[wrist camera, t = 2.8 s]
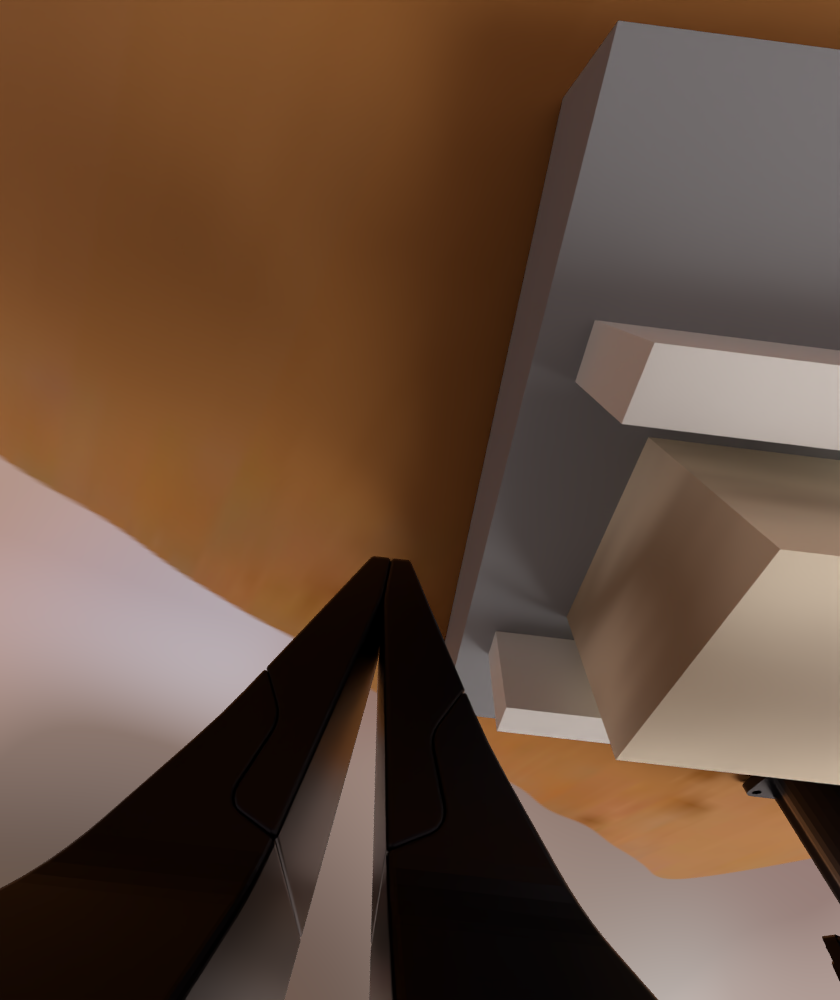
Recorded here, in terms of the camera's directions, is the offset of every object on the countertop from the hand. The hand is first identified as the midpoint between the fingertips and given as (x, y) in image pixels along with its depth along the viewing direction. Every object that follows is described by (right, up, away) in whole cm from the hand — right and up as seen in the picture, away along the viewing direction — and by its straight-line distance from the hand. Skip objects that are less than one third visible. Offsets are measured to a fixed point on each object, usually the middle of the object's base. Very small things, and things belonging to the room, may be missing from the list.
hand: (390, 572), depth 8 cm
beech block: (+8, 0, +2) cm, 9 cm away
